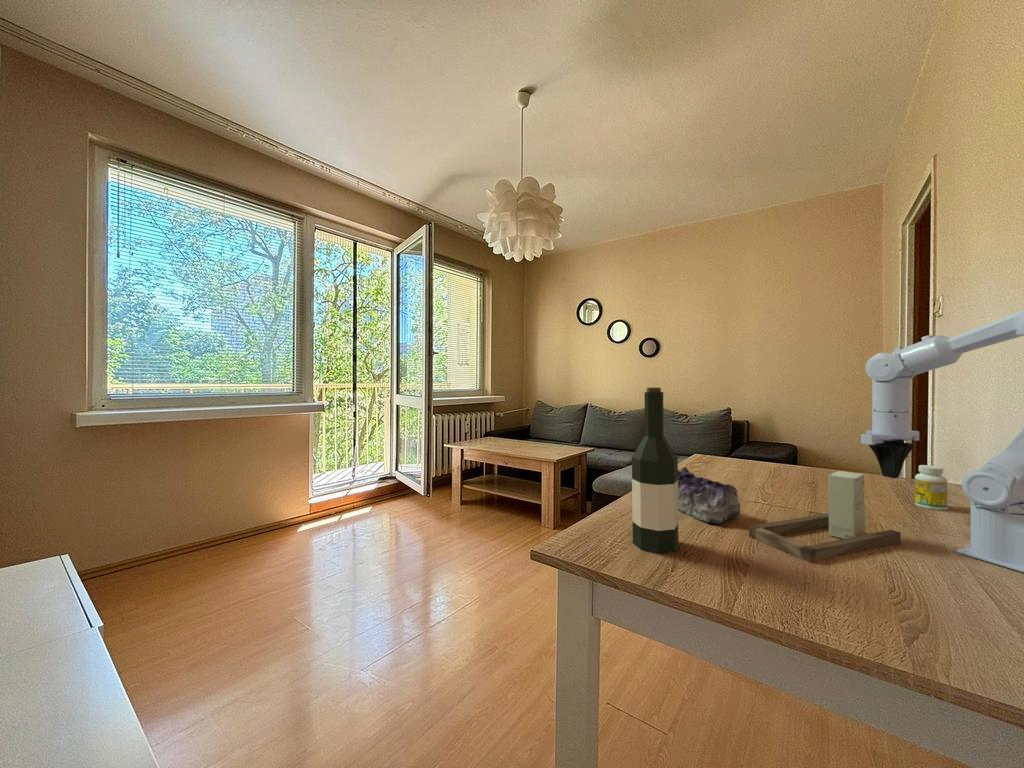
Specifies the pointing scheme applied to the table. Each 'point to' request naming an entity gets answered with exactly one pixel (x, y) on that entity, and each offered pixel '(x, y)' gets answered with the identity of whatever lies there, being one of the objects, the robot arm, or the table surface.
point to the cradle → (772, 536)
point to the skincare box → (846, 504)
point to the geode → (706, 498)
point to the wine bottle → (655, 483)
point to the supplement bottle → (931, 488)
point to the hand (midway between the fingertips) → (890, 476)
